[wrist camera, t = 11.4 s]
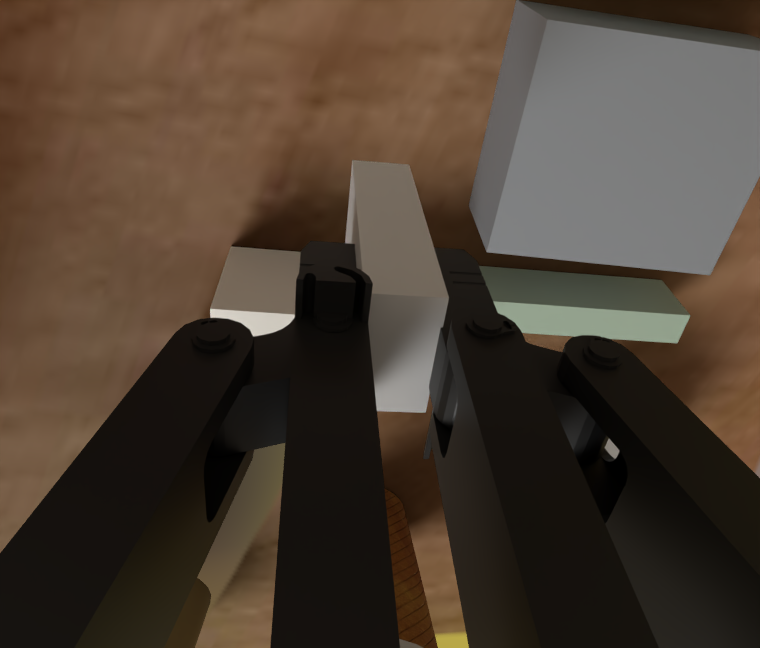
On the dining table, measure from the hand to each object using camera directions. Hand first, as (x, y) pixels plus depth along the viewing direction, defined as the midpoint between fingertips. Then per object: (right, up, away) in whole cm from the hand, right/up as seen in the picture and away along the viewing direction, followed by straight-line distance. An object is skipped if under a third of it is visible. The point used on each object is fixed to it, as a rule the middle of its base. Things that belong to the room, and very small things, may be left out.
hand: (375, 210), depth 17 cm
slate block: (+9, +5, +9) cm, 13 cm away
